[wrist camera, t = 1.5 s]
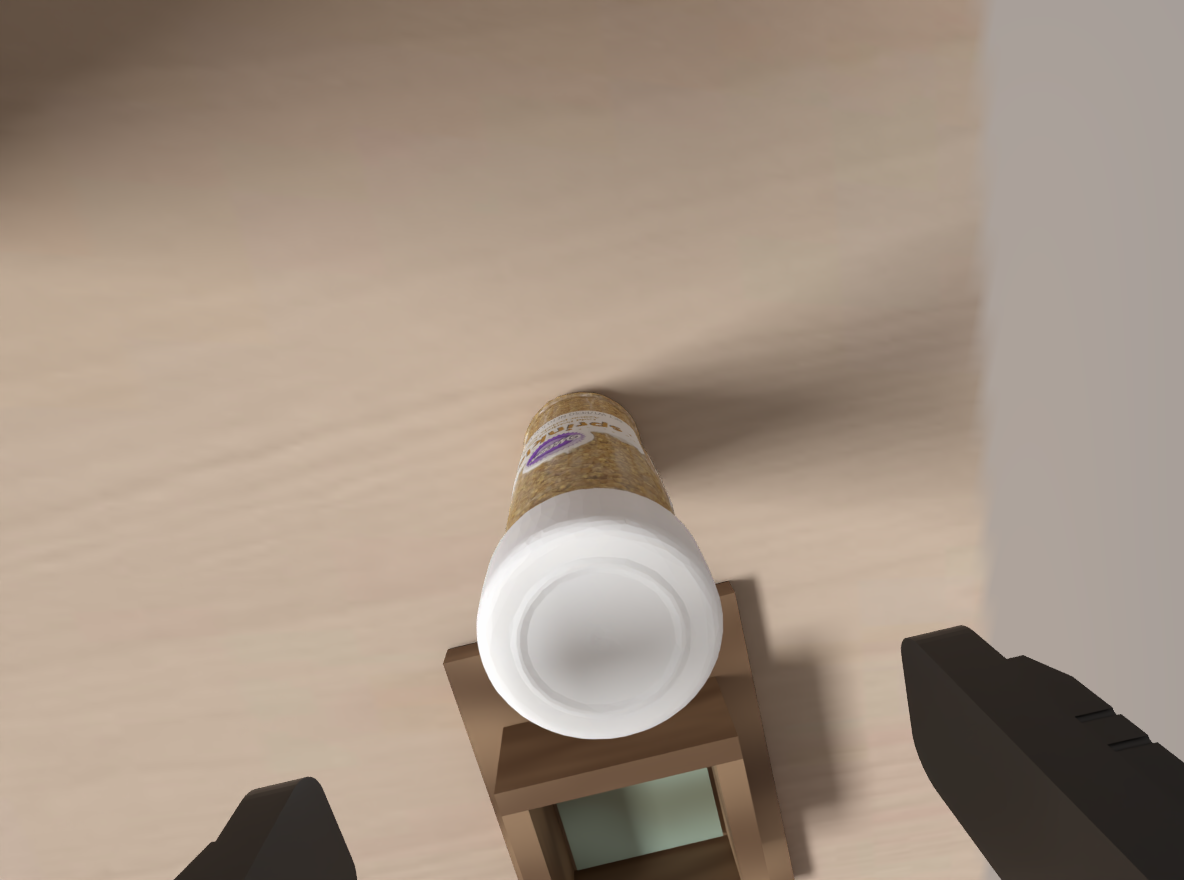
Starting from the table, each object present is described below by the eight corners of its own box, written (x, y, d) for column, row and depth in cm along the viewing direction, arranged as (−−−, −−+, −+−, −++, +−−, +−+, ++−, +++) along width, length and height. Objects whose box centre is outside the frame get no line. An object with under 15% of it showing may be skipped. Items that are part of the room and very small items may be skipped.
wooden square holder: (447, 649, 26) (423, 723, 22) (728, 581, 26) (762, 641, 21) (546, 936, 30) (543, 1047, 25) (790, 878, 30) (830, 981, 25)
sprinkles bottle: (585, 365, 23) (611, 467, 10) (664, 450, 24) (781, 644, 11) (497, 446, 24) (417, 639, 11) (578, 526, 25) (594, 794, 12)
